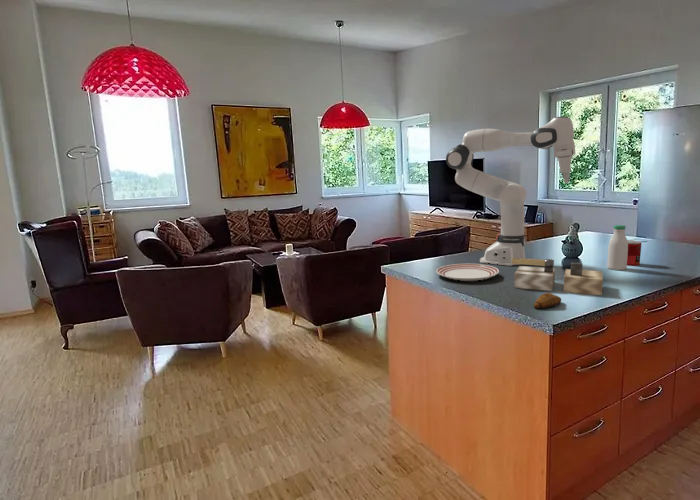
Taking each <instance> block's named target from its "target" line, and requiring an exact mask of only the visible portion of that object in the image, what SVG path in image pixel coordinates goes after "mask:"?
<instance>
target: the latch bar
mask: <svg viewBox="0 0 700 500" xmlns="http://www.w3.org/2000/svg"><path fill="white" fill-rule="evenodd" d="M512 264H520V265H523V266H525V265H526V266H528V265H529V266H542V267H544V266H546V267H553V268H554V266H555V260H554V259H551V258H546V259H539V258H526V259H524V258H512Z"/></svg>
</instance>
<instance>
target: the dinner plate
mask: <svg viewBox="0 0 700 500" xmlns="http://www.w3.org/2000/svg"><path fill="white" fill-rule="evenodd" d="M435 272H436V274H438V275H440V276H441V277H444V278H446V279H449V280H452V279H453V280H452V281H457V280H460V281H459V282H479V281H478V280H481V281H484V279H485V280H487V279H491V278H493V277H495V276H497V275H498V274H499V273H500V270H499V269H498V267H496V266H492V265H490V264H483V263H482V264H481V263H453V264H448V265H442V266H440V267H438V268H437V269H436V270H435Z"/></svg>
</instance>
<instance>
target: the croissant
mask: <svg viewBox="0 0 700 500" xmlns="http://www.w3.org/2000/svg"><path fill="white" fill-rule="evenodd" d="M561 302H562V297H560V296H558V295H555V294H553V293H551V292H546V293H545V292H544V293H542V294H541V295H539V297H538V298H537V299H536V300H535V301H534V304H533V308H534V309H536V310H537V309H538V310H539V309H540V310H541V309H543V310H544V309H548V308H553V307H556V306H558V305H560V304H561Z"/></svg>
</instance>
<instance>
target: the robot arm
mask: <svg viewBox="0 0 700 500" xmlns="http://www.w3.org/2000/svg"><path fill="white" fill-rule="evenodd" d="M574 135H575V131H574V124H573V121H572V118H570V117H568V116H556V117H553V118H552V119H551V120H550V121H548V122H547V123H545V124H544V125H542V126H540V127H538V128H536V129H535V130H533V131H531V132H510V131H506V130H503V129H498V128H477V129H473V130H469V131H466V132H465V133H464V134H463V136H462V143H461V144H460V143H459V144H457V145H456V146H454V147H452V148H451V149H449V150H448V152H447V153H446V156H445V161H446V165H447V166H448V167H449V168H451V169H453V170H456V173H455V176H454V181H455V183H456V184H457V185H458V186H459V187H462V188H463V189H465V190H467V191H469V192H472V193H474V194H477V195H480V196H482V197H484V198H487V199H491V200H493V201H494V200H495V201H497V202H499V211H500V212H499V213H500V233H498V234H497V235H496V238H495V239H496V241H495V242H494V243H492V244H491V245H489V246H488V247H487V248H486V249H485V252H484V256H482V257H480V258H479V262H480V264H481V263H482V264H488V263H490V264H491V265H497V264H498V265H499V266H508V267H509V266H510V267H512V266H516V265H517V266H521V264H512V258H524V259H527V258H526V254H525V245H526V235H525V201H526V198H527V190H526V188H525V187H524V186H523V185H521V184H518V183H516V182H514V181H510V180H507V179H504V178H501V177H498V176H495V175H492V174H489V173H487V172H485V171H481V170H478V169H476V168H474V167H473V166H474V153H481V152H482V153H483V152H493V151H494V152H496V151H499V150H503V149H507V148H509V147H510V148H511V147H517V146H518V147H519V146H520V147H523V146H531V147H535V148H536V149H540V150H541V149H542V150H548V149H550V148H552V147H553V157H554V158H557V162H558V166H559V171H560V173H561V174H562V176H563V179H564V180H563V182H564V184H568V183H570V173H571V171H572V166H571V163H572V162H571V160H572V159H574V157H573V156H574V155H576V145H575V140H574ZM490 264H489V265H490Z"/></svg>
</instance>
